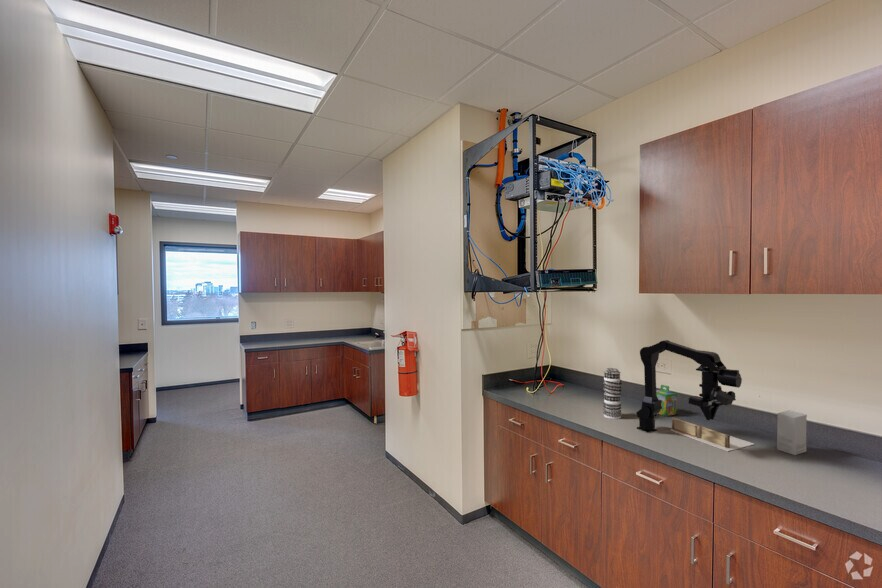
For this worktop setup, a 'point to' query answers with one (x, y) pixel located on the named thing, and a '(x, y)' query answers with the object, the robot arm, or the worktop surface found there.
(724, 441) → the folding fence panel
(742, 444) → the fence post and layout card
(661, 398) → the chalk box
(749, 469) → the worktop surface
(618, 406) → the decorative candle
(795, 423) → the skincare box
